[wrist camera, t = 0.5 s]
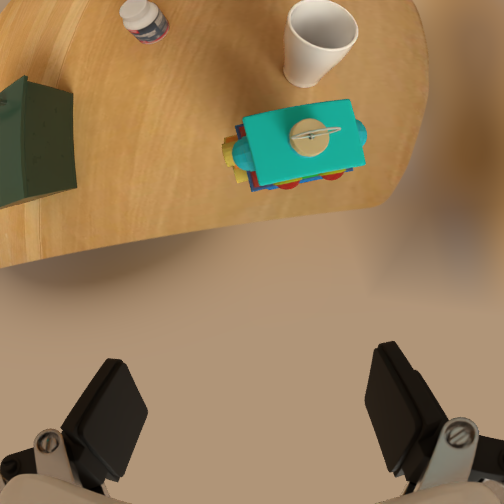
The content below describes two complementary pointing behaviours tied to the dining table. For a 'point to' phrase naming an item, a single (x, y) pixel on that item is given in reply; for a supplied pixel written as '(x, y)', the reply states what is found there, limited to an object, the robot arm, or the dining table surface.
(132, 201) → the dining table surface
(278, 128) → the toy robot
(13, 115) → the lid
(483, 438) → the robot arm
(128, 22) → the pill bottle
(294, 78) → the drinking glass
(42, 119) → the box
